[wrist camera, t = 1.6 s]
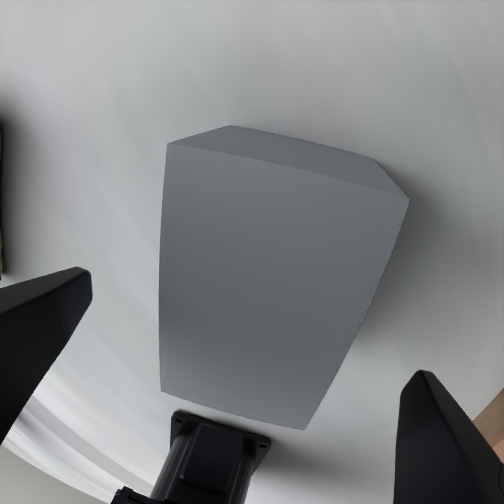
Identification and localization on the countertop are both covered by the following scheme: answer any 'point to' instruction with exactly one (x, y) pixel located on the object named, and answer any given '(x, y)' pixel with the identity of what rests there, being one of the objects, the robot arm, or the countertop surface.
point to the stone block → (0, 230)
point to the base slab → (492, 421)
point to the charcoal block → (267, 268)
